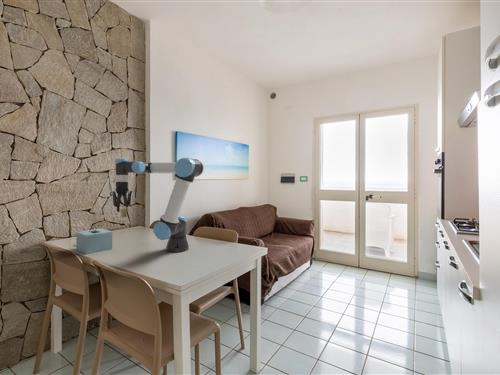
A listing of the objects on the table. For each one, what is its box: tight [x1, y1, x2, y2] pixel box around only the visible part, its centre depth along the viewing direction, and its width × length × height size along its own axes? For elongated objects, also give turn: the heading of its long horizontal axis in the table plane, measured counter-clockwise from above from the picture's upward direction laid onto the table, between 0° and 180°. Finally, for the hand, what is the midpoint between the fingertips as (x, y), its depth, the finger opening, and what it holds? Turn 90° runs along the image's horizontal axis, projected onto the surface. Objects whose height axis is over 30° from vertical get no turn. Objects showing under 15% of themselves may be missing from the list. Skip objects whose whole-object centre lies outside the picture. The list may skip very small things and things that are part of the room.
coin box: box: [75, 228, 113, 255], centre depth 176 cm, size 16×16×12 cm
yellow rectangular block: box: [120, 207, 127, 219], centre depth 175 cm, size 6×3×6 cm, turn 54°
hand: (122, 216), depth 175 cm, fingers closed on yellow rectangular block, 3 cm apart
